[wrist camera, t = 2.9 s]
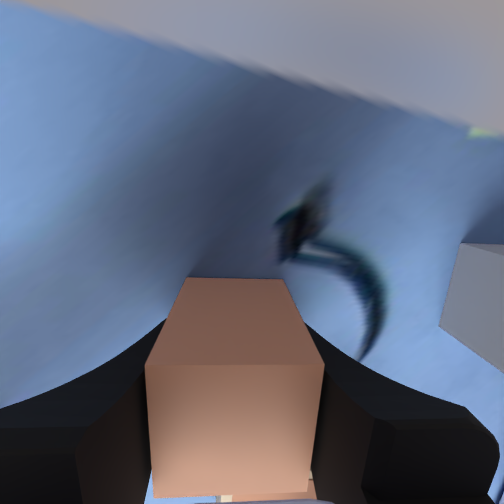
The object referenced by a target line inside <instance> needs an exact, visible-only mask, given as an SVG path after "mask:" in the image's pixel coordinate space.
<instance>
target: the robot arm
mask: <svg viewBox="0 0 504 504" xmlns="http://www.w3.org/2000/svg"><path fill="white" fill-rule="evenodd" d="M166 319H167V318H166ZM166 319H165V320H164V321H162V322H161V323H160V324H159V325H157V326H156V327H155V328H154V329H153V330H151V331H150V332H149V333H148V334H146V335H145V336H144V337H143V338H141V339H140V340H139V341H137V342H136V343H135V344H133V345H132V346H130V347H129V348H128V349H126V350H125V351H123V352H122V353H120V354H119V355H117V356H116V357H114V358H113V359H111V360H109V361H108V362H106V363H104V364H103V365H101V366H99V367H97V368H96V369H94V370H92V371H90V372H88V373H86V374H84V375H82V376H80V377H78V378H76V379H74V380H72V381H70V382H68V383H66V384H63V385H61V386H59V387H57V388H54V389H52V390H50V391H47V392H45V393H42V394H40V395H37V396H35V397H32V398H29V399H27V400H24V401H21V402H19V403H16V404H13V405H10V406H7V407H4V408H1V409H0V504H144V501H145V497H146V492H147V488H148V483H149V479H150V474H151V470H152V466H151V451H150V437H149V422H148V408H147V393H146V379H145V363H146V361H147V359H148V357H149V355H150V353H151V351H152V349H153V347H154V344H155V342H156V340H157V338H158V336H159V334H160V332H161V330H162V328H163V326H164V323H165V321H166ZM304 323H305V322H304ZM305 325H306V327H307V329H308V331H309V334H310V336H311V338H312V340H313V342H314V344H315V346H316V348H317V350H318V352H319V354H320V356H321V358H322V360H323V362H324V364H325V365H324V373H323V380H322V387H321V394H320V401H319V409H318V416H317V423H316V430H315V437H314V445H313V452H312V459H311V466H310V467H311V472H312V477H313V482H314V487H315V492H316V497H317V500H315V499H287V500H264V501H242V502H219V503H196V504H495V503H494V502H493V500H492V499H491V498H490V497H489V495H488V494H487V493H488V491H489V488H490V486H491V483H492V480H493V478H494V475H495V473H496V470H497V467H498V463H499V458H500V452H499V444H498V442H497V440H496V439H495V437H494V435H493V434H492V433H491V432H490V431H489V430H488V429H487V428H486V427H485V426H484V425H483V424H482V423H481V422H480V421H479V420H478V419H477V418H476V417H475V416H474V415H473V414H472V413H471V412H470V411H469V410H468V409H467V408H465V407H463V406H460V405H457V404H454V403H451V402H448V401H445V400H442V399H439V398H436V397H433V396H430V395H427V394H424V393H422V392H419V391H417V390H414V389H412V388H409V387H407V386H404V385H402V384H400V383H398V382H395V381H393V380H391V379H389V378H387V377H385V376H383V375H381V374H379V373H377V372H375V371H373V370H371V369H369V368H367V367H366V366H364V365H362V364H361V363H359V362H357V361H355V360H354V359H352V358H351V357H349V356H347V355H346V354H345V353H343V352H342V351H340V350H339V349H337V348H336V347H335V346H333V345H332V344H331V343H329V342H328V341H327V340H325V339H324V338H323V337H322V336H320V335H319V334H318V333H317V332H315V331H314V330H313V329H312V328H311V327H309V326H308V325H307V324H306V323H305ZM499 504H504V492H503V495H502V497H501V500H500V502H499Z"/></svg>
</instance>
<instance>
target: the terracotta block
mask: <svg viewBox="0 0 504 504" xmlns="http://www.w3.org/2000/svg"><path fill="white" fill-rule="evenodd" d="M324 365H325V364H324V362H323V360H322V358H321V356H320V354H319V352H318V350H317V348H316V346H315V344H314V342H313V340H312V338H311V336H310V334H309V331H308V329H307V327H306V325H305V323H304V321H303V319H302V317H301V315H300V313H299V311H298V309H297V307H296V305H295V303H294V301H293V299H292V297H291V295H290V293H289V291H288V289H287V287H286V285H285V283H284V281H283V279H240V278H190V277H186V279H185V282H184V284H183V286H182V288H181V290H180V292H179V294H178V296H177V298H176V300H175V302H174V305H173V307H172V309H171V311H170V313H169V315H168V317H167V319H166V321H165V323H164V326H163V328H162V330H161V332H160V334H159V336H158V338H157V340H156V342H155V344H154V347H153V349H152V351H151V353H150V355H149V357H148V359H147V361H146V363H145V379H146V393H147V408H148V422H149V437H150V451H151V466H152V480H153V494H154V498H174V497H197V496H221V495H245V494H268V493H292V492H307V488H308V481H309V473H310V466H311V459H312V452H313V445H314V437H315V430H316V423H317V416H318V409H319V401H320V394H321V387H322V380H323V373H324Z"/></svg>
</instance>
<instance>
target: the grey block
mask: <svg viewBox="0 0 504 504" xmlns="http://www.w3.org/2000/svg"><path fill="white" fill-rule="evenodd" d="M439 327H440V328H441V329H443V330H444V331H446V332H447V333H448V334H450V335H451V336H453V337H454V338H455V339H457V340H458V341H459V342H461V343H462V344H464V345H465V346H466V347H468V348H469V349H471V350H472V351H473V352H475V353H476V354H477V355H479V356H480V357H482V358H483V359H484V360H486V361H487V362H488V363H490V364H491V365H493V366H494V367H495V368H497V369H498V370H500V371H501V372H502V373H504V245H503V244H471V243H460V245H459V249H458V253H457V257H456V261H455V265H454V268H453V272H452V276H451V280H450V284H449V288H448V292H447V295H446V299H445V303H444V307H443V311H442V315H441V319H440V322H439Z"/></svg>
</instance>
